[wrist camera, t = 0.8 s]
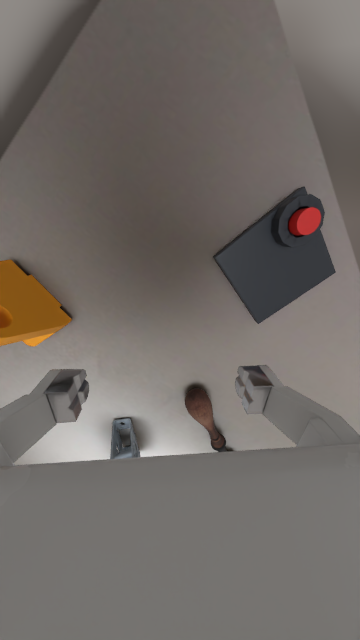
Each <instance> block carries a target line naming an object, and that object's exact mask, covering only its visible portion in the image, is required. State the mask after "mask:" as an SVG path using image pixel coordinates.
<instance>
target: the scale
mask: <svg viewBox="0 0 360 640" xmlns="http://www.w3.org/2000/svg"><path fill="white" fill-rule="evenodd" d="M310 207H314V208H317V209H318V210H319V211H320V214H321V221H320V224H319V226H318V227H317V229H316V230H315V231H314V232H312V233H311V234H309V235H293V234H292V233H291V232H290V231H289V228H288V224H289V220H290V218H291V216H292V215H293V214H294V213H295V212H296V211H298V210H300V209H305V208H310ZM324 213H325V212H324V209H323V206H322V203H321V201H320V199H318V198H316V197H315V196H313V195H311V194H309V195H307V192H306V189H305V187H301V188H298V189H297V190H296V191H295V192H293V193H292V194H291V195H290V196H288V197H287V198H286V199H285V200H283V201H282V202H281V203H280V204H278V205H277V206H276V207H275V208H273V209H272V210H271V211H270V212H268V213H267V214H266V215H265V216H263V217H262V218H261V219H260V220H258V221H257V222H256V223H255V224H253V225H252V226H251V227H250V228H248V229H247V230H246V231H245V232H243V233H242V234H241V235H240V236H238V237H237V238H236V239H235V240H233V241H232V242H231V243H230V244H228V245H227V246H226V247H225V248H223V249H222V250H221V251H220V252H218V253H217V254H216V255H215V256H213V258H214V259H215V261H216V262H217V264H218V265H219V267H220V268H221V270H222V271H223V273H224V274H225V276H226V277H227V279H228V280H229V282H230V283H231V285H232V286H233V288H234V289H235V291H236V292H237V294H238V295H239V297H240V298H241V300H242V301H243V303H244V305H245V306H246V308H247V309H248V311H249V312H250V314H251V315H252V317H253V318H254V320H255V321H256V322H257V323H258V324H259V323H260V322H262V321H263V320H265V319H266V318H268V317H269V316H271V315H272V314H274V313H275V312H277V311H278V310H280V309H281V308H283V307H284V306H286V305H287V304H289V303H290V302H292V301H293V300H295V299H296V298H298V297H299V296H301V295H302V294H304V293H305V292H307V291H308V290H310V289H311V288H313V287H314V286H316V285H317V284H319V283H320V282H322V281H323V280H325V279H326V278H328V277H329V276H331V275H332V274H334V273H335V269H334V266H333V264H332V261H331V258H330V255H329V253H328V250H327V247H326V244H325V242H324V239H323V236H322V233H321V231H320V228H321V226H322V224H323V218H324Z"/></svg>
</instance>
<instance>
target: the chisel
mask: <svg viewBox="0 0 360 640" xmlns="http://www.w3.org/2000/svg"><path fill="white" fill-rule="evenodd" d="M185 405H186V408H187V410H188V412H189V413H190V415H191V416H192V417H193V418H194V419H195V420H196V421H197V422H199V423H200V424H201V425H203V426H204V427H205V428H206V429H207V431H208V432H209V434H210V437H211V446H212V448H213V449H214V450H217V451H218V452H227V451H226V447H225V445H226V440H225V438H224V436H223V435H221V434H219V432H217V430H216V428H215V426H214V421H213V411H212V405H211V401H210V399H209V397H208V395H207V394H206V392H204V391H203V390H201V389H198V388H195V389H192V390H190V391H189V392H188V393H187V395H186V397H185Z"/></svg>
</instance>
